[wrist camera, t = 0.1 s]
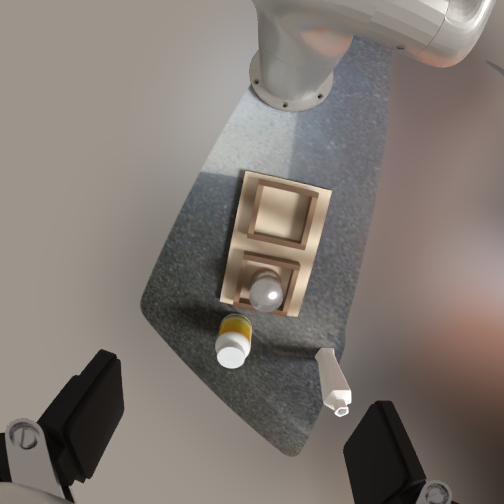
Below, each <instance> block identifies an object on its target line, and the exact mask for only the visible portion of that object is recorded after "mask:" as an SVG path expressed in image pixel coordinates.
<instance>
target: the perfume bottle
mask: <svg viewBox="0 0 504 504" xmlns="http://www.w3.org/2000/svg"><path fill="white" fill-rule="evenodd" d="M315 359H316V360H317V361H318V366H319V373H320V381H321V389H322V398H323V404H325V405H327V406H328V407H330V408H331V409H333V410H335V415H337V416H339V417H341V416H343V415H345V414H347V413H348V407H347V406H346V405H347V404H349V403H351V390H350V388H349V386H348V384H347V382H346V379H345V378H344V375H343V373H342V371H341V369H340V367H339V365H338V363H337V361H336V358H335V356H334V348H320V350H319V351H318V353H317V354H316V355H315Z"/></svg>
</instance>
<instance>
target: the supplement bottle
mask: <svg viewBox="0 0 504 504" xmlns="http://www.w3.org/2000/svg"><path fill="white" fill-rule="evenodd" d="M251 332H252V326H251V323H250V321H249V320H248V319H247V318H246V317H245V316H243V315H241V314H230V315H228V316H226V317H225V318H224V319H223V320H222V322H221V325H220V329H219V333H218V336H217V340H216V344H215V348H216V351H217V353H218V354H217V359H218V361H219V363H220V364H221V365H222V366H224V367H227V368H237V367H239V366H241V365H242V364H243V362H244V360H245V358H246V357H247V356H248V354H249V352H250V345H251Z"/></svg>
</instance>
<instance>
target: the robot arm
mask: <svg viewBox="0 0 504 504" xmlns="http://www.w3.org/2000/svg"><path fill="white" fill-rule="evenodd" d="M252 1H253V3H254V5H255V7H256V11H257V17H258V36H259V50H258V51H257V52H256V54H255V56H254V57H253V58H252V61H251V64H250V70H249V73H250V81H251V84H252V87H253V89H254V91H255V92H256V94H257V95H258V96H259V97H260V98H261V99H262V100H263V101H264V102H265V103H267V104H268V105H270V106H272V107H274V108H276V109H279V110H282V111H287V112H302V111H305V110H309V109H311V108H314V107H316V106H317V105H318V104H320V103H321V102H322V101H323V100H324V99H325V98H326V97H327V95H328V94H329V92H330V90H331V88H332V84H333V69H334V68H335V66H336V65H337V64H338V62H339V61H340V60H341V58H342V57H343V55H344V54H345V53H346V51H347V50H348V48H349V46H350V44H351V42H352V37H353V35H354V36H359V37H362V38H365V39H368V40H371V41H373V42H376V43H378V44H381V45H384V46H386V47H388V48H391V49H393V50H396V51H398V52H400V53H402V54H405V55H407V56H409V57H412V58H414V59H416V60H418V61H421V62H423V63H425V64H429V65H432V66H436V67H449V66H452V65H455V64H456V63H458V62H460V61H461V60H462V59H463V58H465V56H467V54H468V53H469V52H470V51H471V49H472V48H473V46H474V45H475V44H476V42H477V40H478V38H479V36H480V35H481V33H482V31H483V28H484V26H485V24H486V22H487V20H488V18H489V16H490V13H491V11H492V9H493V6H494V4H495V1H496V0H252ZM256 82H258V84H255V83H256ZM318 96H320V99H319V98H318ZM283 105H286V107H283ZM123 413H124V400H123V389H122V377H121V362H120V360H119V359H117V356H116V354H114V353H111V352H108V351H105V350H103V349H101V350H99V352H98V353H97V354H96V355H95V356H94V358H93V359H92V360H91V361H90V363H89V364H88V365H87V366H86V368H85V369H84V370H83V371H82V372H81V374H80V375H79V376H78V375H75V376H73V377H72V378H71V379H70V380H69V381H68V383H67V384H66V385H65V386H64V388H63V389H62V390H61V391H60V393H59V394H58V395H57V397H56V398H55V399H54V400H53V402H52V403H51V404H50V405H49V407H48V408H47V409H46V411H45V412H44V413H43V415H42V416H41V417H40V418H39V420H38V421H37V422H34V421H32V420H29V419H24V418H21V419H16V420H14V421H12V422H11V423H10V424H9V425H8V426H7V428H6V431H5V433H0V504H77V502H76V500H75V497H74V494H73V492H72V489H71V485H72V484H73V482H74V480H77V481H79V482H81V483H84V481H85V479H86V478H88V479H90V478H91V477H92V475H93V473H94V471H95V469H96V467H97V465H98V463H99V461H100V459H101V457H102V455H103V453H104V451H105V449H106V447H107V445H108V443H109V441H110V439H111V437H112V435H113V433H114V431H115V429H116V427H117V425H118V423H119V421H120V419H121V417H122V415H123ZM343 453H344V457H345V462H346V466H347V470H348V475H349V479H350V484H351V489H352V493H353V498H354V502H355V504H458V503H456V502H454V501H452V500H451V499H452V493H451V490H450V488H449V487H448V486H447V485H446V484H445V483H443V482H441V481H437V480H434V481H430V482H428V483H426V481H425V479H426V476H425V474H424V471H423V469H422V466H421V464H420V462H419V459H418V457H417V455H416V452H415V450H414V448H413V446H412V444H411V441H410V439H409V437H408V435H407V432H406V430H405V428H404V426H403V424H402V422H401V419H400V417H399V415H398V413H397V411H396V409H395V407H394V405H393V403H392V402H391V401H376V402H375V403H374V404H372V405H371V406H370V407H369V409H368V410H367V412H366V414H365V415H364V417H363V418H362V420H361V421H360V423H359V424H358V426H357V428H356V429H355V431H354V432H353V434H352V435H351V436H350V438H349V439H348V441H347V442H346V444H345V445H344V449H343Z"/></svg>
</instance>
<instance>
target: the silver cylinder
mask: <svg viewBox="0 0 504 504" xmlns="http://www.w3.org/2000/svg"><path fill="white" fill-rule="evenodd" d="M249 299H250V303H251V305H252V306H253V307H254V308H255V309H256V310H258V311H260V312H266V313H267V312H272V311H274V310H276V309H277V308H278V307H279V306H280V305H281V303H282V300H283V294H282V287H281V279H280V276H279V274H278V273H277V272H276V271H275V270H273V269H271V268H261V269H259V270H257V271H256V272H255V273H254V274H253V275H252V277H251V287H250V296H249Z"/></svg>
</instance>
